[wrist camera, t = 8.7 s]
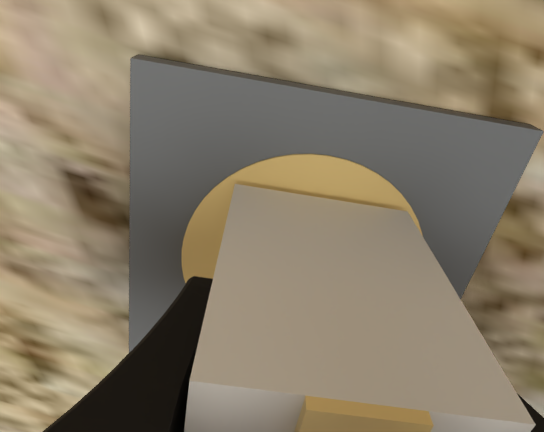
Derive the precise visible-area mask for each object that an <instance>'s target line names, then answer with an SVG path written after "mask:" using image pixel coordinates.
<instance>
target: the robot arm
mask: <svg viewBox="0 0 544 432" xmlns="http://www.w3.org/2000/svg"><path fill="white" fill-rule="evenodd" d="M212 281H213V279H211V278H204V277H197V276H193V277H191V278H190V279H188V281H187V282H186V284H185V286H184V287H183V289H182V290H181V292H180V293H179V295H178V296H177V297H176V299H175V300H174V301H173V303H172V304H171V305H170V307H169V308H168V309H167V311H166V312H165V313H164V314H163V316H162V317H161V318H160V319H159V320H158V321H157V323H156V324H155V325H154V326H153V327H152V329H151V330H150V331H149V332H148V333H147V334H146V336H145V337H144V338H143V339H142V340H141V341H140V342H139V343H138V344H137V345H136V346H135V347H134V348H133V350H132V351H131V352H130V353H129V354H128V355H127V356H126V357H125V358H124V359H123V360H122V361H121V362H120V363H119V364H118V365H117V366H116V367H115V368H114V369H113V370H112V371H111V372H110V373H109V374H108V375H107V376H106V377H105V378H104V379H103V380H102V381H101V382H100V383H99V384H98V385H96V386H95V387H94V388H93V389H92V390H91V391H90V392H89V393H88V394H87V395H85V396H84V397H83V398H82V399H81V400H80V401H79V402H78V403H76V404H75V405H74V406H73V407H72V408H71V409H70V410H68V411H67V412H66V413H65V414H63V415H62V416H61V417H60V418H59V419H57V420H56V421H55V422H54V423H53V424H51V425H50V426H49V427H48V428H46V429H45V430H44V431H43V432H184V426H185V417H186V408H187V398H188V389H189V380H190V376H191V372H192V367H193V363H194V359H195V354H196V350H197V346H198V341H199V337H200V333H201V328H202V324H203V320H204V315H205V311H206V307H207V302H208V298H209V294H210V289H211V285H212ZM518 396H519V395H518ZM519 398H520V399H521V401H522V403H523V404H524V406H525V408H526V409H527V411H528V413H529V414H530V416H531V418H532V419H533V421H534V423H535V424H536V425H535V426H534V428H533V429H532V431H531V432H544V418H543V417H542V416H541V415H540V414H539V413H538V412H537V411H536V410H534V409H533V408H532V407H531V406H530V405H529V404H528V403H527V402H526V401H525V400H524V399H523V398H522V397H520V396H519Z"/></svg>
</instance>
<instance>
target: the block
mask: <svg viewBox="0 0 544 432" xmlns="http://www.w3.org/2000/svg"><path fill="white" fill-rule="evenodd" d="M535 425H536V424H535V423H534V421H533V419H532V418H531V416H530V414H529V413H528V411H527V409H526V408H525V406H524V404H523V403H522V401H521V399H520V398H519V396H518V394H517V393H516V391H515V389H514V388H513V386H512V384H511V383H510V381H509V379H508V378H507V376H506V374H505V373H504V371H503V369H502V368H501V366H500V364H499V363H498V361H497V359H496V358H495V356H494V354H493V353H492V351H491V349H490V348H489V346H488V344H487V343H486V341H485V339H484V338H483V336H482V334H481V333H480V331H479V329H478V328H477V326H476V324H475V323H474V321H473V319H472V318H471V316H470V314H469V313H468V311H467V309H466V308H465V306H464V304H463V303H462V301H461V299H460V298H459V296H458V294H457V293H456V291H455V289H454V288H453V286H452V284H451V283H450V281H449V279H448V278H447V276H446V274H445V273H444V271H443V269H442V268H441V266H440V264H439V263H438V261H437V259H436V258H435V256H434V254H433V253H432V251H431V249H430V248H429V246H428V244H427V243H426V241H425V239H424V238H423V236H422V234H421V233H420V231H419V229H418V228H417V226H416V224H415V223H414V221H413V219H412V218H411V216H410V214H409V213H408V211H402V210H395V209H389V208H383V207H377V206H370V205H364V204H358V203H352V202H345V201H339V200H333V199H327V198H320V197H314V196H308V195H302V194H296V193H289V192H283V191H277V190H271V189H264V188H258V187H252V186H246V185H239V184H235V186H234V190H233V194H232V199H231V203H230V207H229V212H228V216H227V220H226V225H225V229H224V233H223V238H222V242H221V246H220V251H219V255H218V259H217V264H216V268H215V272H214V276H213V281H212V285H211V289H210V294H209V298H208V302H207V307H206V311H205V315H204V320H203V324H202V328H201V333H200V337H199V341H198V346H197V350H196V354H195V359H194V363H193V367H192V372H191V376H190V380H189V389H188V398H187V408H186V417H185V426H184V432H531V431H532V429H533V428H534V426H535Z"/></svg>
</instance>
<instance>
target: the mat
mask: <svg viewBox="0 0 544 432" xmlns="http://www.w3.org/2000/svg"><path fill="white" fill-rule="evenodd" d="M542 134H543V131H542V130H540V129H538V128H536V127H534V126H532V125H530V124H525V123H519V122H514V121H508V120H502V119H497V118H491V117H486V116H480V115H474V114H469V113H463V112H458V111H452V110H446V109H441V108H435V107H430V106H424V105H418V104H413V103H407V102H401V101H396V100H390V99H385V98H379V97H373V96H368V95H362V94H357V93H351V92H345V91H340V90H334V89H329V88H323V87H317V86H312V85H306V84H301V83H295V82H289V81H284V80H278V79H272V78H267V77H261V76H256V75H250V74H244V73H239V72H233V71H228V70H222V69H216V68H211V67H205V66H200V65H194V64H188V63H183V62H177V61H171V60H166V59H160V58H155V57H149V56H143V55H136V56H134V57H132V58H131V68H130V250H129V353H130V352H131V351H132V350H133V348H134V347H135V346H136V345H137V344H138V343H139V342H140V341H141V340H142V339H143V338H144V337H145V336H146V334H147V333H148V332H149V331H150V330H151V329H152V327H153V326H154V325H155V324H156V323H157V321H158V320H159V319H160V318H161V317H162V316H163V314H164V313H165V312H166V311H167V309H168V308H169V307H170V305H171V304H172V303H173V301H174V300H175V299H176V297H177V296H178V295H179V293H180V292H181V290H182V289H183V287H184V286H185V284H186V282H187V281H188V279H190V278H191V277H193V276H197V277H204V278H211V279H213V276H214V272H215V268H216V264H217V259H218V255H219V251H220V246H221V242H222V238H223V233H224V229H225V225H226V220H227V216H228V212H229V207H230V203H231V199H232V194H233V190H234V186H235V184H239V185H246V186H252V187H258V188H264V189H271V190H277V191H283V192H289V193H296V194H302V195H308V196H314V197H320V198H327V199H333V200H339V201H345V202H352V203H358V204H364V205H370V206H377V207H383V208H389V209H395V210H402V211H408V213H409V214H410V216H411V218H412V219H413V221H414V223H415V224H416V226H417V228H418V229H419V231H420V233H421V234H422V236H423V238H424V239H425V241H426V243H427V244H428V246H429V248H430V249H431V251H432V253H433V254H434V256H435V258H436V259H437V261H438V263H439V264H440V266H441V268H442V269H443V271H444V273H445V274H446V276H447V278H448V279H449V281H450V283H451V284H452V286H453V288H454V289H455V291H456V293H457V294H458V296H459V298H460V299H461V297H462V295H463V293H464V291H465V289H466V287H467V285H468V283H469V281H470V279H471V277H472V275H473V273H474V271H475V269H476V267H477V265H478V263H479V261H480V259H481V257H482V255H483V253H484V251H485V249H486V247H487V245H488V243H489V241H490V239H491V237H492V235H493V233H494V231H495V229H496V227H497V225H498V223H499V221H500V219H501V216H502V214H503V212H504V210H505V208H506V206H507V204H508V202H509V200H510V198H511V196H512V194H513V192H514V190H515V188H516V186H517V184H518V182H519V180H520V178H521V176H522V174H523V172H524V170H525V168H526V166H527V164H528V162H529V160H530V158H531V156H532V154H533V152H534V150H535V148H536V146H537V144H538V142H539V140H540V138H541V136H542Z"/></svg>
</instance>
